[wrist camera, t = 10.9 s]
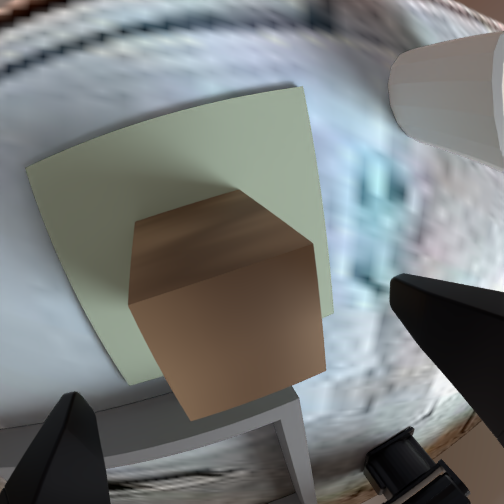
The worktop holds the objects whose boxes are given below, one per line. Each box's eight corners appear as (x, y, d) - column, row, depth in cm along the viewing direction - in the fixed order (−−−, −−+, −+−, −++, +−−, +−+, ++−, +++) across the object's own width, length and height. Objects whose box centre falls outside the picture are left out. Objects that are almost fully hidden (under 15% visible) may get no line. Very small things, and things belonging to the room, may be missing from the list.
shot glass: (467, 113, 16) (556, 129, 10) (416, 176, 17) (516, 211, 10) (422, 22, 13) (520, 11, 7) (356, 76, 13) (474, 69, 7)
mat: (298, 87, 13) (302, 86, 12) (330, 309, 18) (333, 313, 18) (28, 166, 10) (25, 167, 10) (129, 381, 16) (129, 386, 15)
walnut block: (239, 189, 13) (313, 243, 8) (259, 280, 15) (326, 370, 10) (134, 221, 12) (127, 305, 7) (168, 311, 14) (190, 421, 9)
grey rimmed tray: (274, 356, 18) (299, 398, 15) (306, 491, 29) (318, 514, 26) (-2, 429, 14) (-10, 467, 11) (145, 535, 25) (149, 558, 22)
